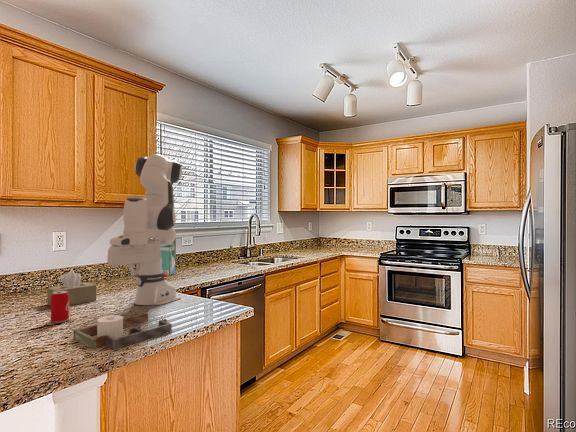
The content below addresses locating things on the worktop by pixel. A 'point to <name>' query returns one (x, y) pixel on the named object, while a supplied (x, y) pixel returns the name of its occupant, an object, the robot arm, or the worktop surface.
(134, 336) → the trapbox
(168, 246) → the milk carton
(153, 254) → the robot arm
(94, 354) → the worktop surface
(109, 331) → the toilet paper
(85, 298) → the tissue box
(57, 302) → the beverage can
